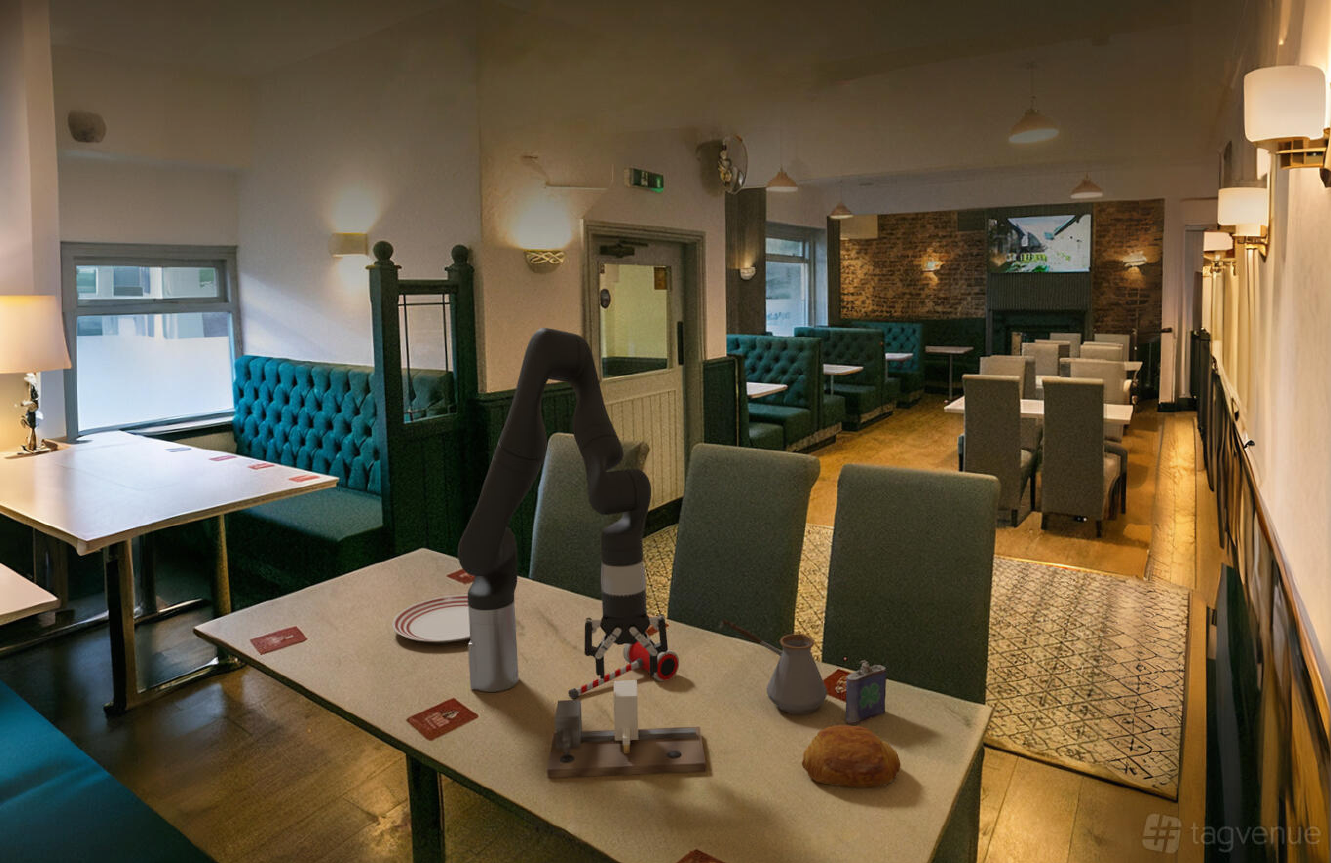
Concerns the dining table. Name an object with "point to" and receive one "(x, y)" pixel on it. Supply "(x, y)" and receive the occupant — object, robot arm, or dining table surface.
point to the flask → (865, 693)
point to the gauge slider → (625, 712)
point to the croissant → (850, 758)
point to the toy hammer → (636, 658)
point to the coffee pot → (792, 673)
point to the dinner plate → (435, 620)
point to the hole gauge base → (620, 749)
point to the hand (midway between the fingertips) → (627, 675)
